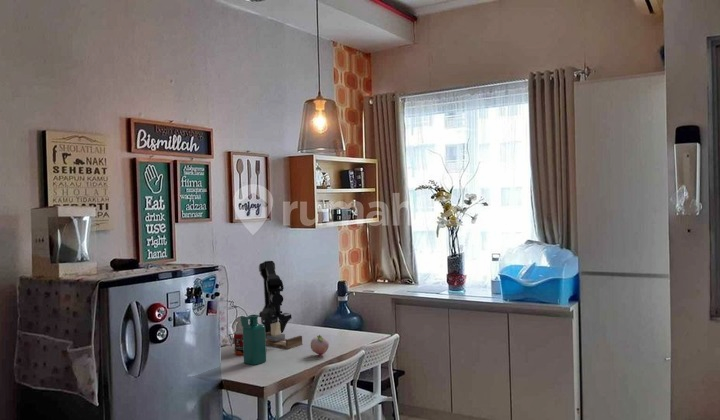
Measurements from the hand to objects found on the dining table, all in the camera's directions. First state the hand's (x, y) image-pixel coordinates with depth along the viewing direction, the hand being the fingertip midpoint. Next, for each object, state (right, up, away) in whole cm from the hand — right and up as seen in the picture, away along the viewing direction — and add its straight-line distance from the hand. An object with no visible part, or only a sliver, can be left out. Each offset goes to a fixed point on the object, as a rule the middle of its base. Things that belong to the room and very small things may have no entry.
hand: (275, 331), depth 309 cm
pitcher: (-5, -7, -35) cm, 36 cm away
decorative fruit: (+25, -6, -27) cm, 37 cm away
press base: (+3, -6, -2) cm, 7 cm away
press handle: (0, -4, 0) cm, 4 cm away
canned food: (-13, -7, -18) cm, 24 cm away
